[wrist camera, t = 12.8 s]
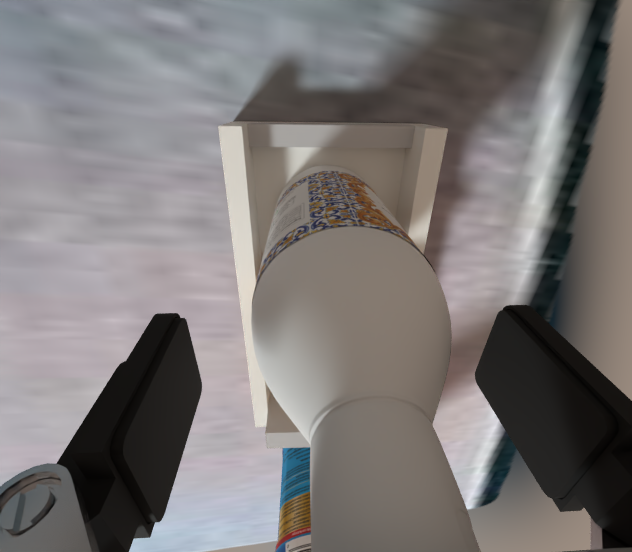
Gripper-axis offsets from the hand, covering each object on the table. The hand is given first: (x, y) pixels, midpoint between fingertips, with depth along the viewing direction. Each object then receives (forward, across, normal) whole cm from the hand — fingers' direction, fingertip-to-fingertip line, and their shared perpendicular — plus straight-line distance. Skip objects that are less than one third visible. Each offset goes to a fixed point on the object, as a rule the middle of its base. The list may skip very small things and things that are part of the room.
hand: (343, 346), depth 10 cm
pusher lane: (+14, -1, +7) cm, 16 cm away
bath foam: (+14, -1, +1) cm, 14 cm away
